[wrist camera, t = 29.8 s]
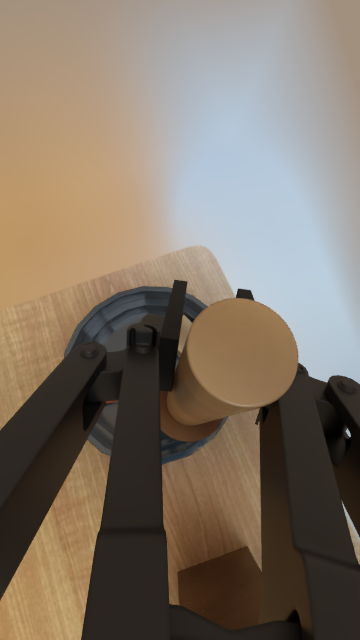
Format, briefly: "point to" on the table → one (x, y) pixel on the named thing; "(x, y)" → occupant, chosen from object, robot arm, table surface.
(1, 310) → the table surface
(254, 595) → the stand
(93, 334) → the bowl
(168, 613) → the robot arm
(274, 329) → the pestle
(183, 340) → the cream block
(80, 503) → the table surface
